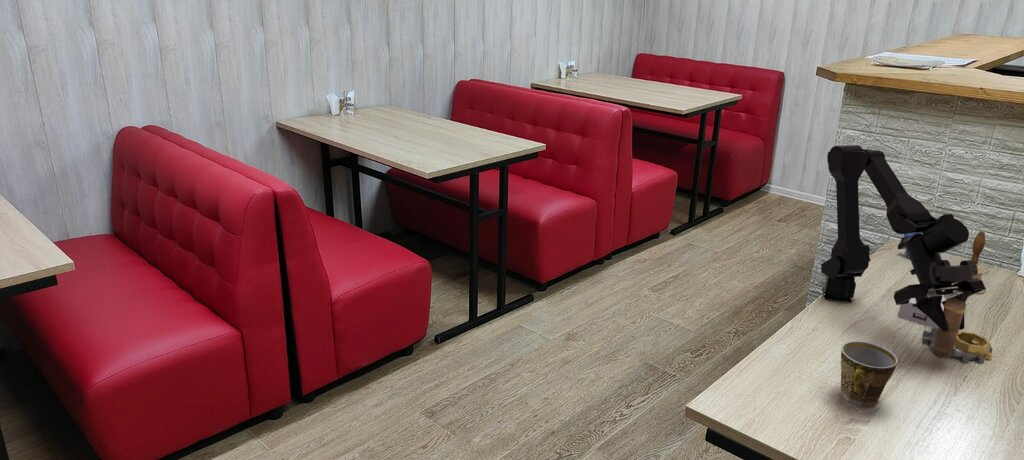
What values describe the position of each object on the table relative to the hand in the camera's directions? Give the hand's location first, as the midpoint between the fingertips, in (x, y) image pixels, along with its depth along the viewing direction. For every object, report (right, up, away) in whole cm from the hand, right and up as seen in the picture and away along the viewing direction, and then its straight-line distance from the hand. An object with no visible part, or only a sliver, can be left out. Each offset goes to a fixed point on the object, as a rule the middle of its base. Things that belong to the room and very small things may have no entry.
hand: (954, 330), depth 149 cm
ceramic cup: (-24, -13, -8) cm, 29 cm away
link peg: (-1, -6, +4) cm, 7 cm away
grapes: (+27, +12, +60) cm, 67 cm away
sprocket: (+8, -6, +12) cm, 16 cm away
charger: (+10, 0, +28) cm, 30 cm away
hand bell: (+30, +5, +42) cm, 52 cm away
